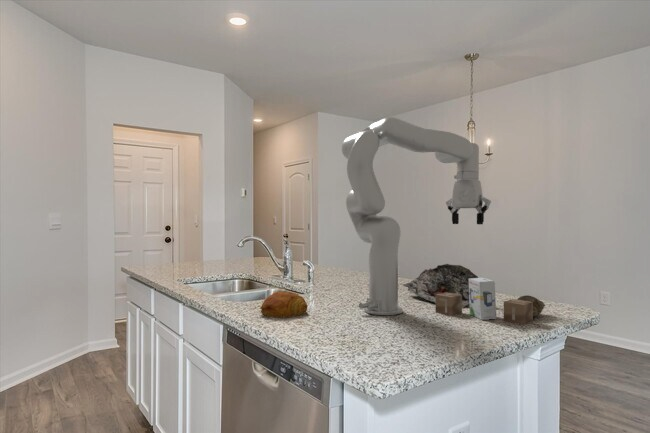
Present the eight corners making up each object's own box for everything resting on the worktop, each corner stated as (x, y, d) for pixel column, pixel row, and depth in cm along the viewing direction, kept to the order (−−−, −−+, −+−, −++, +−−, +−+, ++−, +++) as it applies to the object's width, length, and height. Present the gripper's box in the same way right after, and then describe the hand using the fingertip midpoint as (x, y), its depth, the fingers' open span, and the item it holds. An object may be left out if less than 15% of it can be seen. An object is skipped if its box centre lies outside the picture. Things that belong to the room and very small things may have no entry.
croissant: (280, 313, 147) (278, 290, 148) (315, 312, 138) (312, 288, 139) (250, 320, 135) (248, 295, 136) (286, 320, 126) (284, 293, 127)
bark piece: (494, 290, 149) (436, 268, 175) (486, 273, 146) (428, 253, 172) (460, 326, 144) (406, 298, 170) (451, 310, 141) (397, 284, 167)
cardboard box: (451, 316, 132) (451, 296, 132) (435, 312, 137) (435, 294, 137) (462, 313, 136) (462, 294, 136) (446, 310, 141) (446, 292, 141)
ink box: (496, 320, 126) (496, 281, 126) (480, 320, 126) (480, 281, 126) (483, 313, 135) (483, 277, 135) (468, 313, 135) (467, 277, 135)
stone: (515, 304, 140) (530, 287, 137) (534, 321, 136) (551, 304, 133) (500, 310, 131) (516, 293, 128) (520, 329, 127) (538, 312, 124)
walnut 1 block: (523, 325, 120) (523, 304, 120) (503, 321, 125) (503, 301, 125) (532, 322, 124) (532, 301, 124) (513, 318, 129) (512, 298, 129)
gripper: (441, 178, 156) (441, 223, 156) (485, 174, 143) (484, 224, 143) (452, 179, 161) (451, 223, 161) (495, 176, 148) (495, 224, 148)
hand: (467, 224), depth 152 cm, fingers open, 9 cm apart
